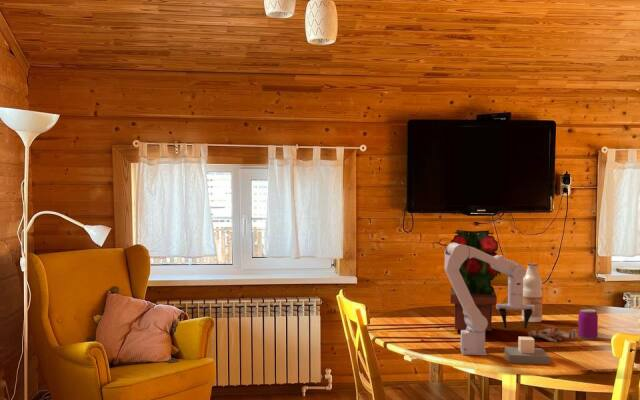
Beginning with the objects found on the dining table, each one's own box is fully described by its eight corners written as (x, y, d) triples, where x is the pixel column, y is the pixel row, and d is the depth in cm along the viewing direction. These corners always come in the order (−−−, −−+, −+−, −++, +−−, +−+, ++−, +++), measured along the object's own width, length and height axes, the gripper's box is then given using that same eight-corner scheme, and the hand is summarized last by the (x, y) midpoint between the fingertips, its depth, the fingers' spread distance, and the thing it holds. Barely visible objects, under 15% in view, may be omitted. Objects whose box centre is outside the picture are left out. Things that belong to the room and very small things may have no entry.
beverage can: (586, 340, 271) (586, 312, 271) (574, 336, 279) (574, 308, 279) (601, 339, 274) (601, 311, 273) (589, 335, 281) (589, 308, 281)
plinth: (509, 363, 237) (509, 355, 237) (504, 354, 249) (504, 346, 248) (549, 364, 235) (549, 356, 235) (542, 355, 247) (542, 348, 247)
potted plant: (499, 337, 276) (500, 233, 275) (447, 335, 281) (448, 232, 279) (496, 326, 298) (497, 229, 297) (447, 324, 302) (448, 229, 301)
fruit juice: (518, 320, 311) (518, 263, 311) (527, 317, 318) (528, 261, 317) (536, 323, 304) (536, 264, 304) (545, 320, 311) (546, 263, 310)
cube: (520, 352, 240) (520, 339, 240) (518, 349, 245) (518, 336, 245) (534, 353, 239) (534, 340, 239) (531, 349, 244) (531, 336, 244)
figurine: (571, 330, 262) (525, 327, 276) (572, 344, 262) (526, 341, 276) (577, 327, 267) (531, 325, 280) (578, 341, 266) (532, 338, 280)
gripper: (532, 292, 255) (532, 326, 256) (495, 291, 257) (495, 325, 258) (536, 295, 248) (535, 330, 249) (497, 294, 250) (497, 329, 251)
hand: (515, 327), depth 253 cm, fingers open, 7 cm apart
